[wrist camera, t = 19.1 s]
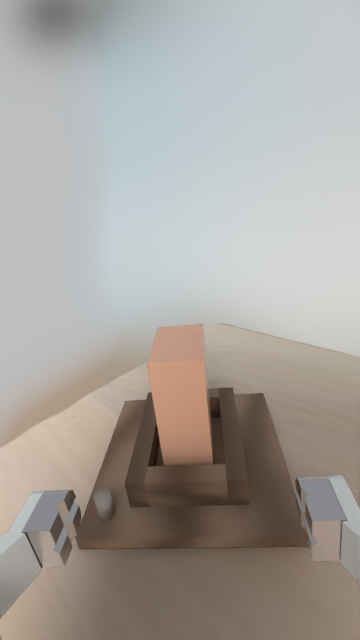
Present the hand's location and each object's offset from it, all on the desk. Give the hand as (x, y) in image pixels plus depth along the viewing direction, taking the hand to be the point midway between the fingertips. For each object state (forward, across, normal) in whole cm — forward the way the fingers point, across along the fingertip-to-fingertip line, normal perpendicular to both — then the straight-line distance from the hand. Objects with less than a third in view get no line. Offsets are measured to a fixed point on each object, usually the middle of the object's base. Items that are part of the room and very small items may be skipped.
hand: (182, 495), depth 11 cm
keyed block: (+14, +2, +12) cm, 19 cm away
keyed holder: (+14, +2, +13) cm, 19 cm away
